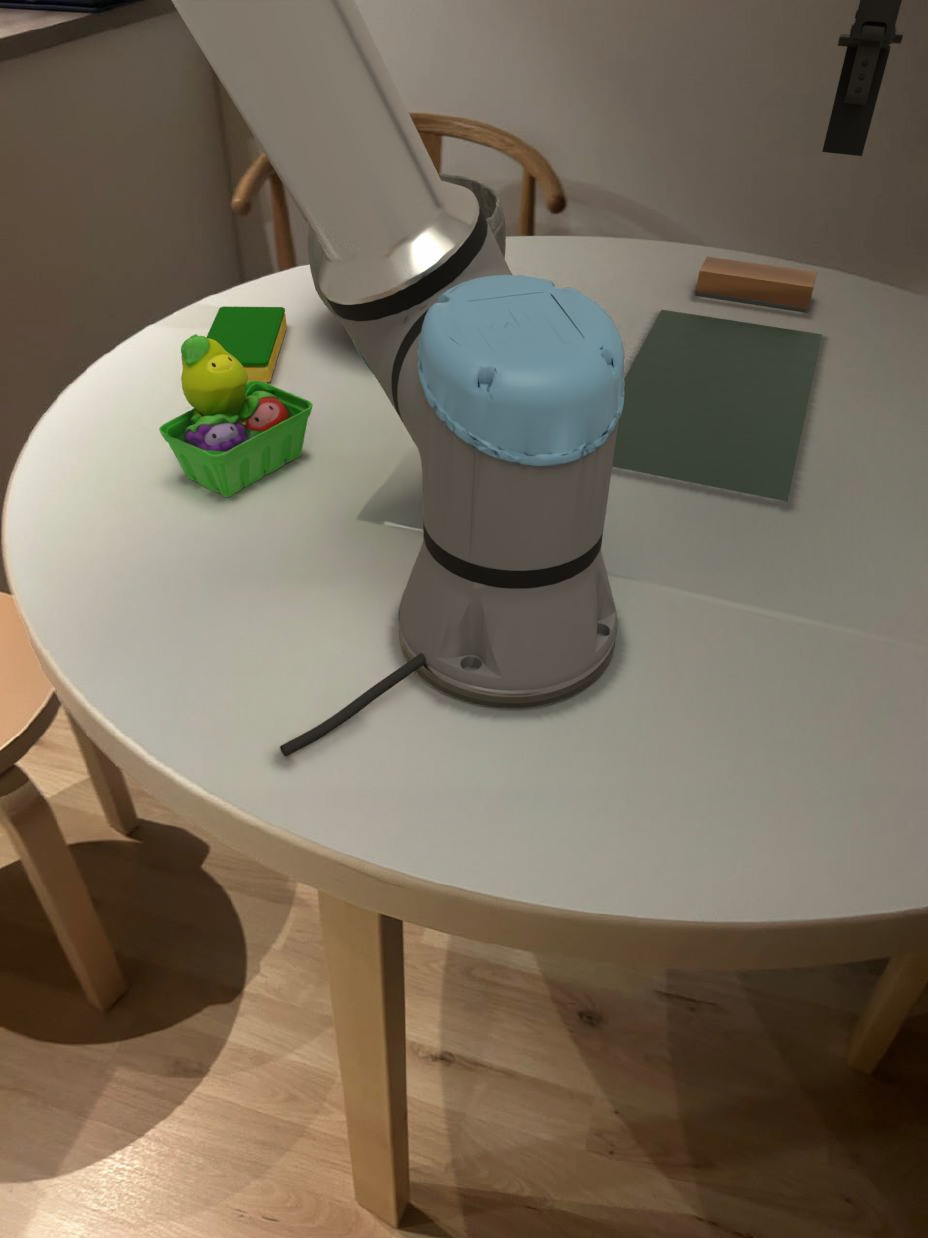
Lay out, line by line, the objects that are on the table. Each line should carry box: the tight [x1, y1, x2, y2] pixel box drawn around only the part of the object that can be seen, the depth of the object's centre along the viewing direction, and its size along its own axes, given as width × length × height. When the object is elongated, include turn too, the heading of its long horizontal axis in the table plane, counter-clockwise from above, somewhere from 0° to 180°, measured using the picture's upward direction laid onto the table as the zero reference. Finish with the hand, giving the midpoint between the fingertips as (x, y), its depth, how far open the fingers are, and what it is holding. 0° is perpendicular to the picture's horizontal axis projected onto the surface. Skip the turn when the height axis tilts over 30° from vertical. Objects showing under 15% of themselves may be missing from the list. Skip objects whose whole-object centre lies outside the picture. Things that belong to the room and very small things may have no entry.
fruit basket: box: [158, 333, 313, 498], centre depth 81 cm, size 11×9×11 cm
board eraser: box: [694, 256, 818, 314], centre depth 114 cm, size 5×13×4 cm, turn 69°
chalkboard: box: [612, 309, 823, 502], centre depth 96 cm, size 36×18×1 cm, turn 160°
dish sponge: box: [205, 306, 288, 384], centre depth 101 cm, size 7×14×2 cm, turn 1°
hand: (842, 150), depth 68 cm, fingers closed
